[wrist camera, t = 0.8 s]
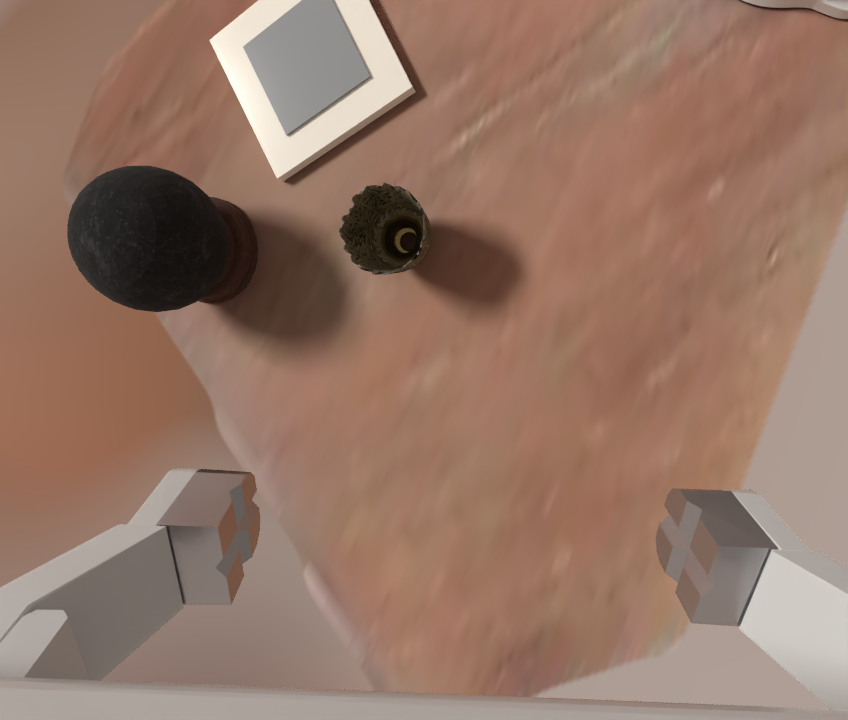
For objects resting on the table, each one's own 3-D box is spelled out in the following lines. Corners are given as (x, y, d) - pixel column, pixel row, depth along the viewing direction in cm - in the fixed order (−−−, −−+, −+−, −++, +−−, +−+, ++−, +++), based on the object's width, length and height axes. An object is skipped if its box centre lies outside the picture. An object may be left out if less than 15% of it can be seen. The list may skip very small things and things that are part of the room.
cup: (401, 187, 50) (371, 164, 42) (461, 230, 49) (442, 215, 41) (359, 251, 51) (323, 240, 44) (416, 295, 50) (389, 291, 43)
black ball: (230, 335, 56) (115, 343, 42) (144, 270, 58) (7, 257, 44) (287, 229, 53) (184, 199, 39) (194, 166, 56) (64, 115, 41)
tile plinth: (342, -55, 49) (335, -66, 48) (415, 92, 49) (411, 85, 47) (217, 46, 53) (207, 38, 52) (283, 181, 53) (275, 177, 51)
